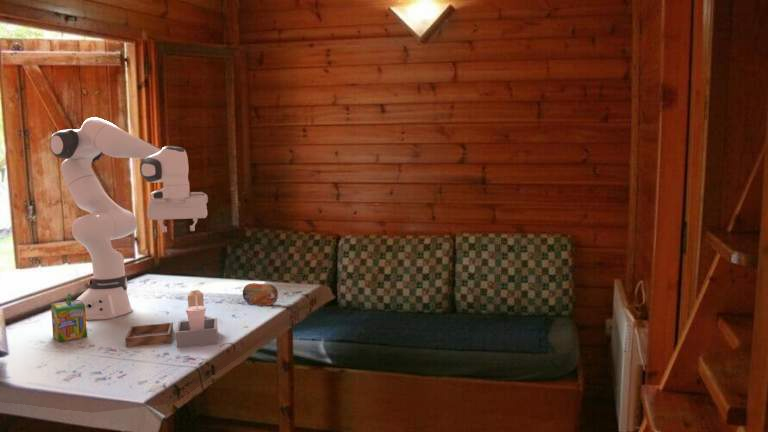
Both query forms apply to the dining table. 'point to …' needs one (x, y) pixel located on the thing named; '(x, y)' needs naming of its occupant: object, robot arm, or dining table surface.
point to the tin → (260, 294)
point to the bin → (196, 334)
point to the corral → (149, 339)
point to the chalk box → (68, 320)
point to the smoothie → (196, 316)
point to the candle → (192, 298)
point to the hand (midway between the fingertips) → (178, 231)
